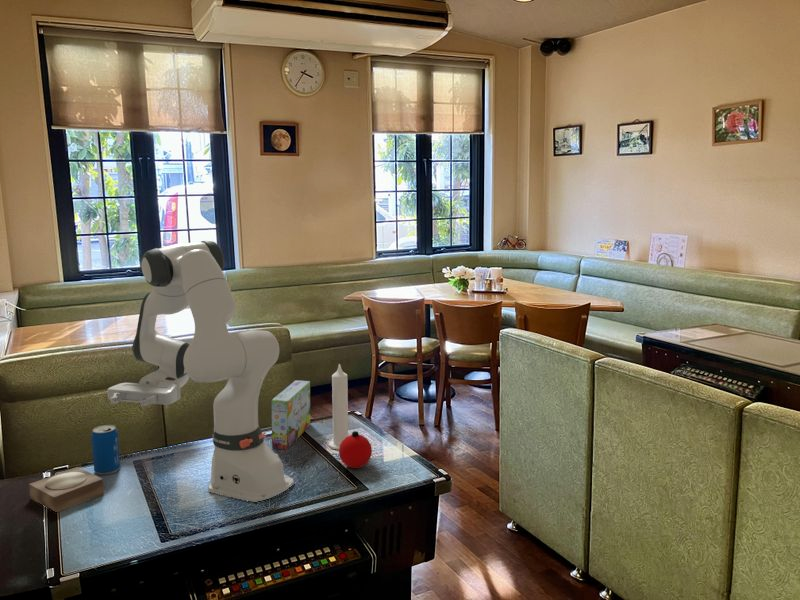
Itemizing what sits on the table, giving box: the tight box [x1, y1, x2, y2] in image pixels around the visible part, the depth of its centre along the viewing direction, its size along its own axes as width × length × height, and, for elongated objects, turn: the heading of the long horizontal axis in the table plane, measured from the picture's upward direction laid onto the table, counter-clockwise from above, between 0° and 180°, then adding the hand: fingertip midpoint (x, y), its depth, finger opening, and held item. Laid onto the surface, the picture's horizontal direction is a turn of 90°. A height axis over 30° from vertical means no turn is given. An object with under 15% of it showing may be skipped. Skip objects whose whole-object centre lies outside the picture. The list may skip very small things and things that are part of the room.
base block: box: [28, 466, 105, 513], centre depth 158 cm, size 12×12×4 cm
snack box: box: [271, 379, 311, 450], centre depth 196 cm, size 21×6×15 cm, turn 170°
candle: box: [328, 363, 349, 451], centre depth 188 cm, size 7×7×25 cm
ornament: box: [338, 430, 373, 469], centre depth 175 cm, size 9×9×10 cm
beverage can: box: [90, 424, 121, 476], centre depth 172 cm, size 6×6×12 cm
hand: (127, 402), depth 182 cm, fingers open, 8 cm apart
